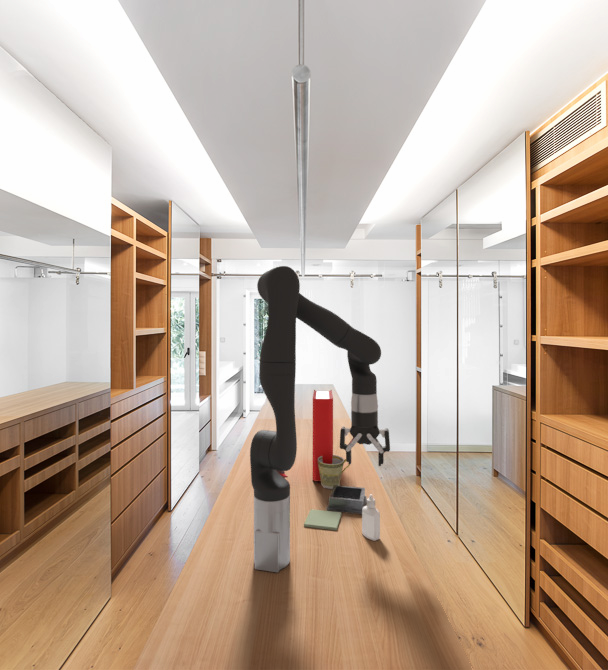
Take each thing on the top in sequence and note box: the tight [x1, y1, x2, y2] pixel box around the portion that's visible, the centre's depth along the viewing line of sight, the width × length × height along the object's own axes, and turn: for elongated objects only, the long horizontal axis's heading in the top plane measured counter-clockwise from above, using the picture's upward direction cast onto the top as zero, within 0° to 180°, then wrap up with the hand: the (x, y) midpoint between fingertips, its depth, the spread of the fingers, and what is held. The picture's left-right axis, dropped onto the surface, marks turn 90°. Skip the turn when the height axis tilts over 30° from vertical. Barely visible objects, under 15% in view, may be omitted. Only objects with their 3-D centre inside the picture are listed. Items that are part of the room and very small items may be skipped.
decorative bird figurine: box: [276, 470, 289, 479], centre depth 150 cm, size 3×18×10 cm, turn 21°
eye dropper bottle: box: [361, 494, 381, 542], centre depth 113 cm, size 4×6×12 cm
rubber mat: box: [303, 508, 342, 531], centre depth 122 cm, size 10×10×1 cm
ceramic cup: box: [318, 454, 351, 490], centre depth 149 cm, size 13×10×10 cm
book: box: [312, 389, 334, 482], centre depth 166 cm, size 27×8×32 cm, turn 177°
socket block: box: [326, 485, 368, 515], centre depth 133 cm, size 12×12×4 cm
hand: (364, 464), depth 113 cm, fingers open, 8 cm apart
